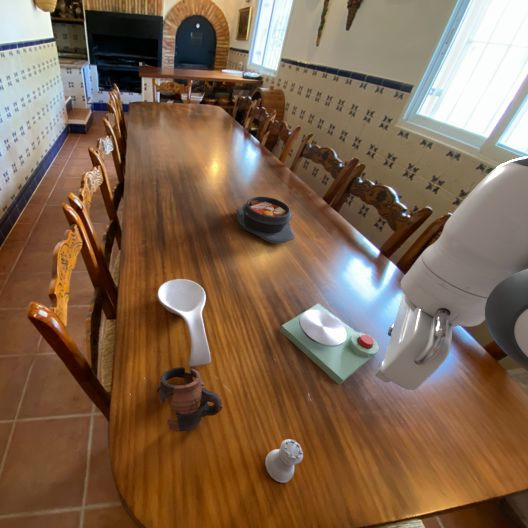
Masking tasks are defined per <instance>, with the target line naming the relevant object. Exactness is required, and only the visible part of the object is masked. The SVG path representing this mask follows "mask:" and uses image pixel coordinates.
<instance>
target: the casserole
mask: <svg viewBox="0 0 528 528" xmlns="http://www.w3.org/2000/svg"><path fill="white" fill-rule="evenodd" d="M235 212H236V215H237V222H238V224H239V226H241V228H243V229H244V230H246V231H247V232H249V233H251V234H254V235H255V236H258V237H259V238H260V239H262V240H264V241H266V242H269V243H274V244H275V243H276V244H277V243H278V244H281V243H287V242H290V241H293V240H294V239H295V237H296V235H295V233H294V231H293V230H292V227H291V224H290V223H289V222H291V221H292V220H293V215H292V210H291V207H290V206H289V205H288V204H287V203H286V202H284V201H282V200H281V199H277V198H274V197H270V196H260V195H259V196H253V197H250V198H249V199H248V200H247V201H246V202H245V203H243V205H242V206H240V207H239V206H238V207H237V208H236V209H235Z"/></svg>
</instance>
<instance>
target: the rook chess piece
mask: <svg viewBox="0 0 528 528" xmlns="http://www.w3.org/2000/svg"><path fill="white" fill-rule="evenodd" d="M303 459H304V452H303V449H302V447H301V444H300V443H299V442H297V441H296V440H295V439H290V438H289V439H284V440H282V442H281V444H280V447H279V448H278V449H272V450H271V451H269V453H267V455H266V457H265V464H264V465H265V467H266V468H265V469H266V471H267V473H268V474H269V476H270V477H271V478H272V479H274V480H275V482H279V483H283V484H284V483H288V482H289V481H291V480H292V478H293V476H294V473H295V466H296V465H297V464H300V463H301V462H302V461H303Z"/></svg>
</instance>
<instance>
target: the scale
mask: <svg viewBox="0 0 528 528" xmlns="http://www.w3.org/2000/svg"><path fill="white" fill-rule="evenodd" d="M309 310H319V311H323V312H326V313H328V314H330V315H332V316H333V317H335V318H336V319H337V320H339V321H340V322H341V324H342V325H343V326H344V328H345V330H346V339H345V341H344V342H343V343H342V344H341V345H339V346H336V347H326V346H322V345H319V344H317V343H315V342H313V341H312V340H310V339H309V338H308V337H307V336H306V335H305V334H304V333H303V332H302V330H301V328H300V325H299V319H300V317H301V315H302V314H303V313H304V312H306V311H309ZM279 332H281V334H283V335H284V336H285V337H286V339H288V340H289V341H290V342H291V343H292V344H293V345H295V347H297V348H298V349H299V350H300V351H302V353H303V354H305V355H306V356H307V358H309V359H310V360H311V361H312V362H313V363H314V364H316V365H317V366H318V368H320V369H321V370H322V371H324V373H325V374H327V376H329V378H330V379H332V380H333V381H334V382H336V383H337V384H338V385H339V386H341V385H342V383H344V382H345V381H346V380H348V378H350V377H351V376H352V375H353V374H354V373H355V372H357V371H358V370H359V369H360V368H361V367H362V366H363V365H365V364H366V363H367V362H368V361H369V360H371V359H372V358H374V357H375V356H376V354H377V353H378V352H379V351H380V347H379V344H378V343H377V341H376V340H375V339H374V338H373V337H371V338H372V339H373V340H374V343H373V345H372V346H371V347H370V348H368V349H366V348H363V347H362V346H360V345H359V343H358V339H359V338H360V337H361V336H362V335H368V334H367V333H364V332H357V331H356V330H355V329H353V328H352V327H350V326H349V325H348V324H347V323H345V322H344V321H342V320H341V319H340V318H339V317H337V316H336V315H334V314H333V313H332V312H330V311H329V310H328V309H327V308H325V307H324V306H323V305H322V304H320V303H316V304H315V305H313V306H311V307H310V308H308V309H306V310H305V311H303V312H301V313H299V314H298V315H297V316H295V317H293V318H292V319H289V320H288V321H287V322H285V323H284V324H282V325H281V327H280V328H279ZM368 336H370V335H368Z"/></svg>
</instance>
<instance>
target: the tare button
mask: <svg viewBox="0 0 528 528" xmlns="http://www.w3.org/2000/svg"><path fill="white" fill-rule="evenodd" d="M372 338H373V337H372V336H370V335H369V336H368V334H366V335H362V336H361V337H360V338H359V339H358V343H359V345H360V346H362V347H363V348H366V349H368V348H370V347H371V346H372V345H373V343H374V340H375V339H374V338H373V339H374V340H373V339H372Z"/></svg>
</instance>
